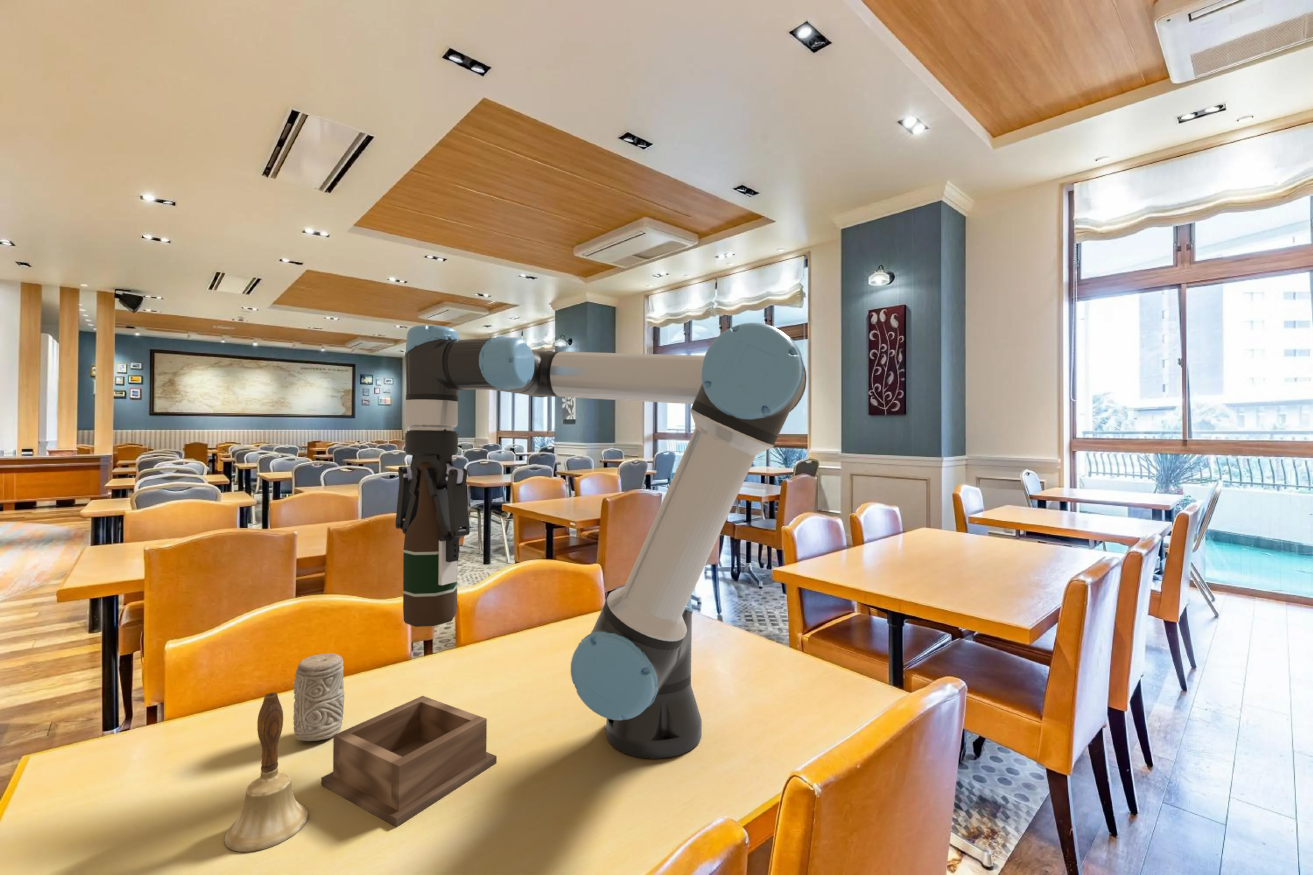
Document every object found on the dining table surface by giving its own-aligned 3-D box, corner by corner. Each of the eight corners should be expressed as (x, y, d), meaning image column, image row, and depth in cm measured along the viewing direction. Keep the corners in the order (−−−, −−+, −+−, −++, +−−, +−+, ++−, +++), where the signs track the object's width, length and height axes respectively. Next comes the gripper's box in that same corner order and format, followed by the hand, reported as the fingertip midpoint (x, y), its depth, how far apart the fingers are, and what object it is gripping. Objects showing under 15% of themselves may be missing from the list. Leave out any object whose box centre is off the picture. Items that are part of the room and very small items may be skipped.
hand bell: (322, 805, 73) (323, 679, 73) (282, 852, 65) (283, 710, 65) (255, 805, 73) (256, 679, 73) (206, 853, 65) (207, 710, 65)
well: (496, 762, 83) (496, 717, 83) (396, 826, 69) (397, 772, 69) (423, 732, 91) (423, 691, 91) (321, 784, 77) (321, 736, 77)
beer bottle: (437, 629, 83) (438, 463, 83) (391, 625, 85) (392, 462, 85) (467, 613, 91) (468, 461, 91) (424, 609, 93) (425, 460, 93)
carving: (353, 724, 93) (354, 650, 93) (322, 749, 86) (323, 669, 86) (316, 722, 94) (317, 649, 94) (282, 747, 86) (283, 667, 86)
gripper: (496, 429, 86) (495, 583, 86) (413, 429, 97) (412, 566, 97) (454, 428, 79) (453, 595, 79) (370, 429, 90) (369, 574, 90)
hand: (430, 579), depth 88 cm, fingers closed on beer bottle, 7 cm apart
